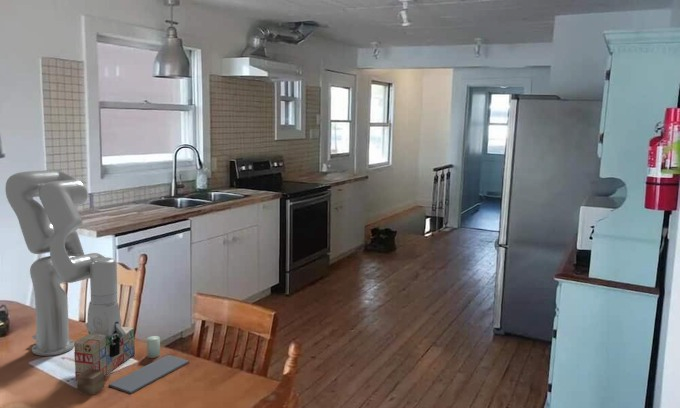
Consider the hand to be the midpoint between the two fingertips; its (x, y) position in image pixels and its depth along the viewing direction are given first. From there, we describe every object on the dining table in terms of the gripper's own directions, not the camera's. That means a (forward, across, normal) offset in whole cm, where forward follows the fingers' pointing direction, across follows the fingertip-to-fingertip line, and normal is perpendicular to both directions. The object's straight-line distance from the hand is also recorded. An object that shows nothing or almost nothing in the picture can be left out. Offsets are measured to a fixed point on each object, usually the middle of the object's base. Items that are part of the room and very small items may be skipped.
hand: (105, 352), depth 171 cm
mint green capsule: (+5, +6, +14) cm, 16 cm away
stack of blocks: (+5, 0, 0) cm, 5 cm away
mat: (+5, +15, +4) cm, 16 cm away
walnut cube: (+5, +8, -12) cm, 15 cm away
